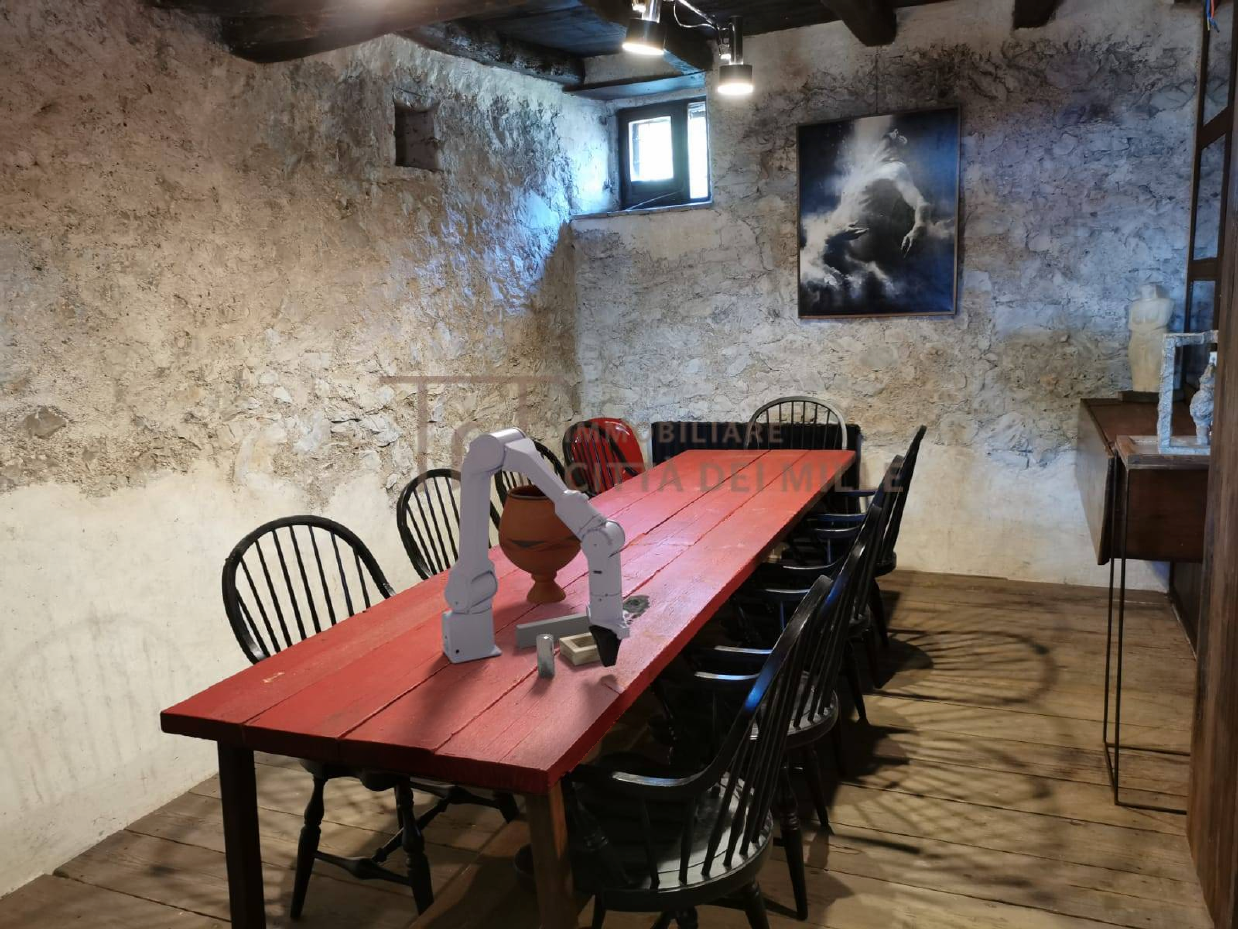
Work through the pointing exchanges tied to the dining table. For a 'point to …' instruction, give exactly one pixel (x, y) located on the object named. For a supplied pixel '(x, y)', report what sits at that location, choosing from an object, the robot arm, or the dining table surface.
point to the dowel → (545, 655)
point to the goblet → (537, 540)
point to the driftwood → (636, 605)
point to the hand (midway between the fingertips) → (608, 665)
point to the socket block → (579, 648)
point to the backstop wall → (552, 629)
